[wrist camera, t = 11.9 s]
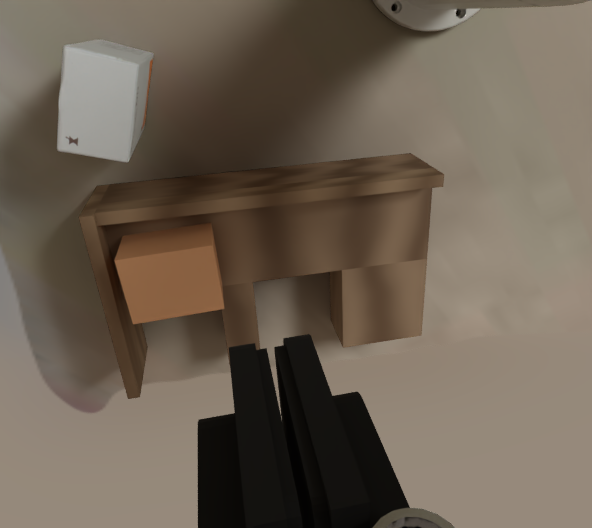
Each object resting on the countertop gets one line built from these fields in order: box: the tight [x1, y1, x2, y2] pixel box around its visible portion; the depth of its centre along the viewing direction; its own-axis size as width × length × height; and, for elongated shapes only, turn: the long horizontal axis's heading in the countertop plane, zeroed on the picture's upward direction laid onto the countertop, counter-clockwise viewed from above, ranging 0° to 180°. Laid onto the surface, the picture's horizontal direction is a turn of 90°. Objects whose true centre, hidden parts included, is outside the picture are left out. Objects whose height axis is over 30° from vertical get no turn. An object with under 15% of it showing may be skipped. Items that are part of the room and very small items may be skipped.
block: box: [114, 223, 224, 324], centre depth 39 cm, size 7×6×4 cm
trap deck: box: [79, 153, 444, 399], centre depth 45 cm, size 28×17×8 cm, turn 94°
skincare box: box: [57, 39, 154, 163], centre depth 34 cm, size 6×4×12 cm
